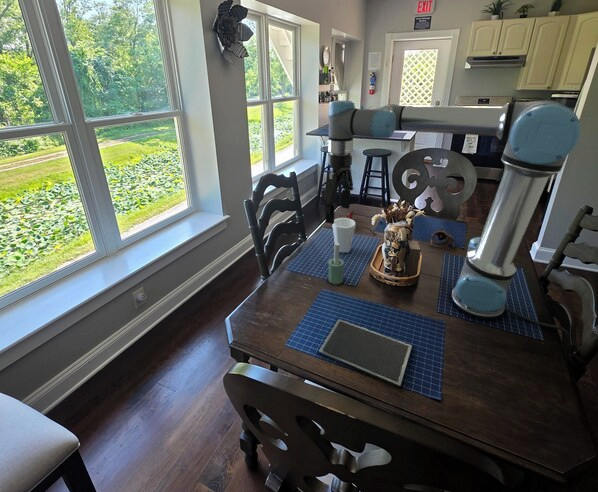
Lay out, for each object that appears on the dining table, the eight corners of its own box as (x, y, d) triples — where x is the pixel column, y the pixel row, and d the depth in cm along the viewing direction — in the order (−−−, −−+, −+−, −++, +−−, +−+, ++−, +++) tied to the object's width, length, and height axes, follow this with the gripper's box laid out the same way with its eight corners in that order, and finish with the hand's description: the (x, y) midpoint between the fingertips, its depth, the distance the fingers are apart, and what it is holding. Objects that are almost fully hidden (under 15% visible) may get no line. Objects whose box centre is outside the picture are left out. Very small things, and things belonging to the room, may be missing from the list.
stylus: (338, 278, 119) (340, 243, 113) (337, 281, 117) (338, 245, 111) (334, 277, 120) (335, 242, 114) (332, 280, 118) (333, 244, 112)
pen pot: (345, 278, 120) (346, 260, 116) (339, 286, 115) (340, 267, 112) (331, 274, 122) (332, 256, 119) (325, 282, 118) (326, 263, 115)
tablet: (411, 348, 89) (412, 344, 89) (400, 388, 78) (400, 385, 78) (338, 321, 99) (338, 318, 99) (318, 353, 88) (318, 350, 88)
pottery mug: (459, 253, 136) (454, 240, 131) (436, 259, 139) (431, 247, 135) (450, 233, 145) (445, 221, 141) (429, 240, 148) (424, 228, 144)
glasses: (351, 217, 169) (351, 208, 167) (382, 223, 162) (383, 214, 160) (341, 228, 158) (342, 219, 156) (374, 235, 151) (375, 225, 149)
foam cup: (357, 247, 140) (358, 221, 135) (348, 257, 133) (349, 229, 128) (337, 242, 145) (338, 216, 140) (328, 251, 138) (328, 224, 133)
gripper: (343, 144, 112) (341, 200, 120) (311, 160, 92) (311, 227, 100) (364, 146, 108) (360, 204, 116) (335, 164, 88) (333, 232, 96)
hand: (337, 215), depth 108 cm, fingers open, 13 cm apart
